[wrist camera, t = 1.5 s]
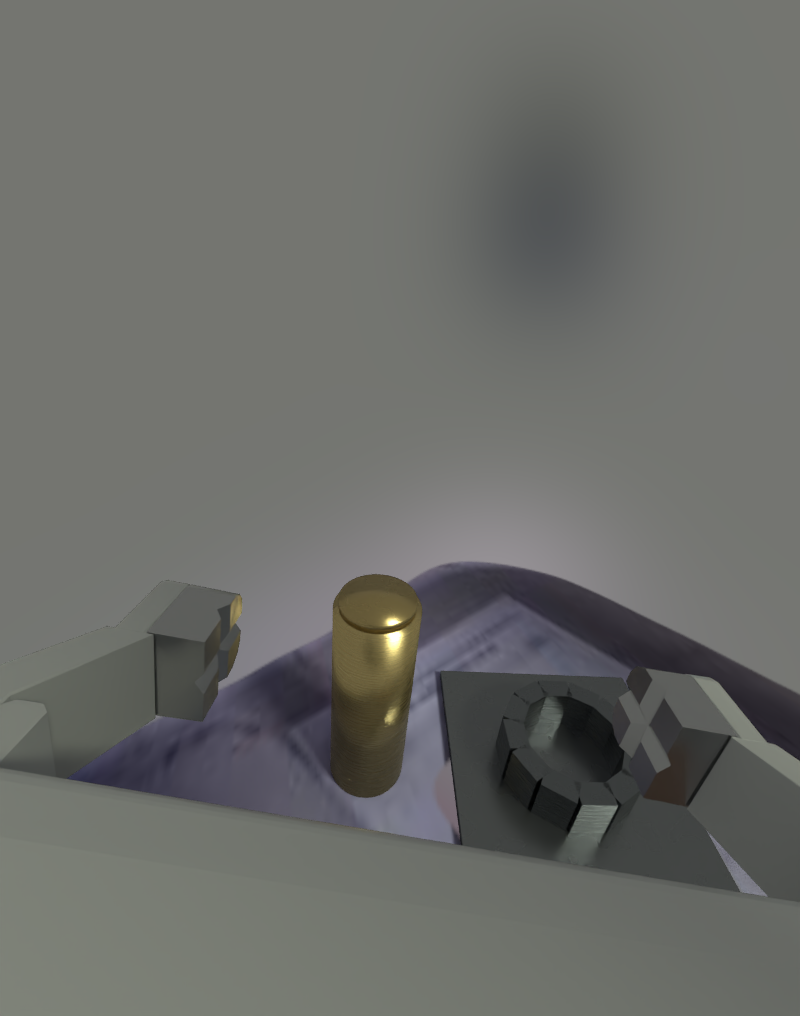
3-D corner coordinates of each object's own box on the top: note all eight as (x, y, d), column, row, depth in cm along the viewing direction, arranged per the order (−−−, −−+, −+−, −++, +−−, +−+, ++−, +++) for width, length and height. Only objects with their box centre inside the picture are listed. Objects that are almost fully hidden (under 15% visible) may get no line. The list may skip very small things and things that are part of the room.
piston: (401, 730, 35) (420, 573, 28) (402, 798, 31) (426, 631, 24) (334, 728, 35) (337, 569, 28) (326, 796, 31) (328, 627, 24)
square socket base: (620, 681, 41) (632, 652, 40) (740, 903, 27) (767, 872, 25) (440, 674, 40) (445, 644, 39) (467, 900, 26) (477, 867, 25)
